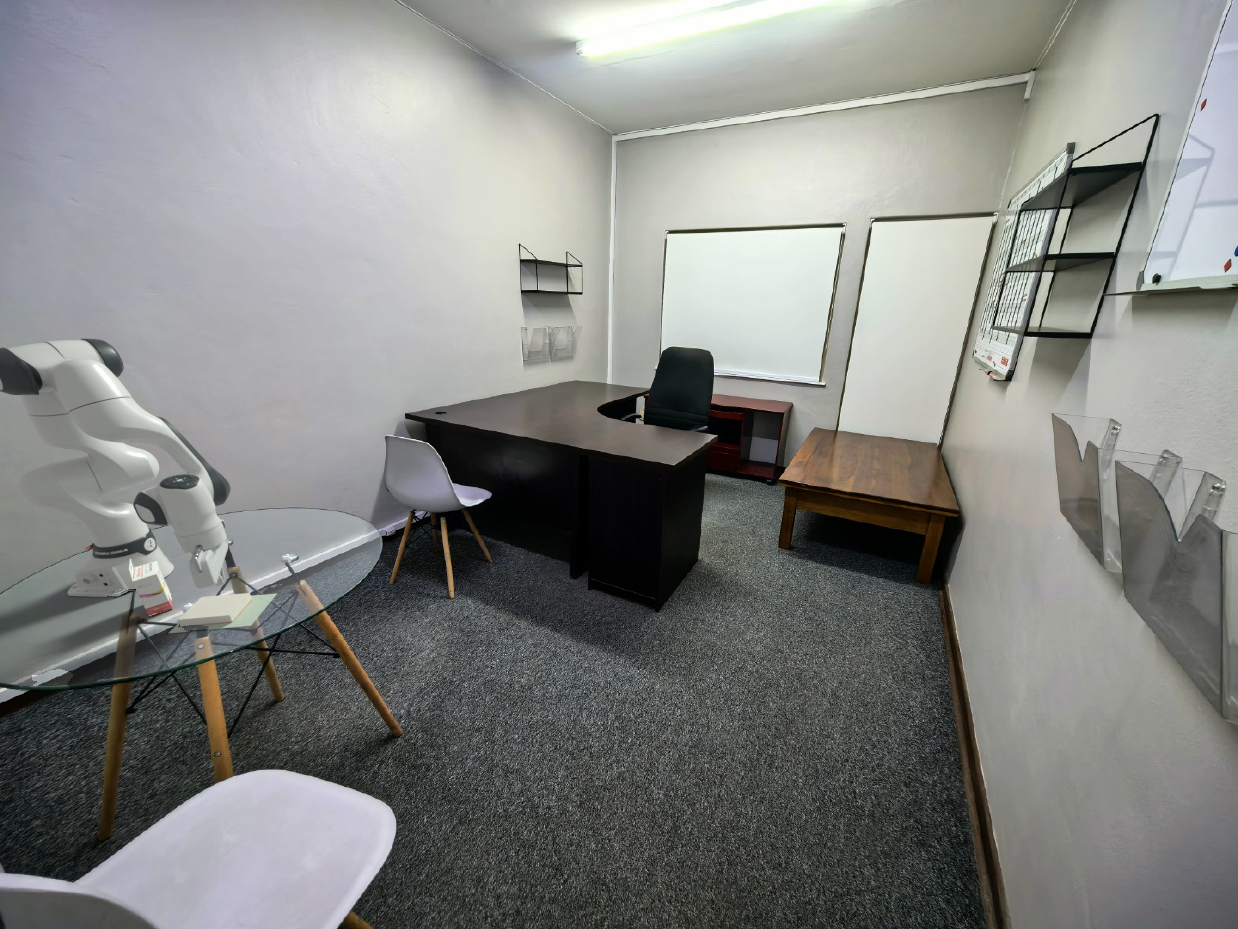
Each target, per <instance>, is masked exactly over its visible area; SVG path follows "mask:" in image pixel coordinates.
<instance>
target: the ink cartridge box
mask: <svg viewBox="0 0 1238 929" xmlns="http://www.w3.org/2000/svg"><path fill="white" fill-rule="evenodd" d="M129 574H130V577H131V580H132V583H133V585H134V587H135V589H136V590H135V591H136V593H137V595H138V597H139V599H140V601H141V603H142V606H143V607H144V609H145V611H146V613H147V615H148V616H149V615H152V614H154V613H160V612H163V613H165V611H166V612H168V611H167V610H169V611H171V610H170V609H172V610H173V598H172V597H171V595H172V594H171V592H170V588H169V586H168V584H167V582H166V580H165V578H164V577H163V575H162V573H161V570H160V568H159V566H158V563H157V561H155V562H151V563H148V564H144V565H141V566H138V567H134V568H133V564H132V561H131V559H130V561H129ZM160 614H161V613H160Z"/></svg>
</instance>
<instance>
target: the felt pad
mask: <svg viewBox="0 0 1238 929" xmlns="http://www.w3.org/2000/svg"><path fill="white" fill-rule="evenodd" d="M277 594H278V593H266V594H255V595H254V594H253V595H251V598H252V601H251V602H250V603H249V604H248V605H247V607H246V608H245V609H244V610H243V611H242V612H241V613H240V614H239V616H238V617H237V618H236V619H235V620H234V621H233V622H231V623H220V624H209V625H204V626H209V627H208V628H209V629H208V628H207V629H208V630H207V631H210V630H219V629H220V630H221V629H231V628H232V629H233V628H241V627H242V628H243V627H251V626H252V625H253V624H254V623H255V621H257V619H258V618H259V616H260V615H261V614H262V613H263V612H264V610H265V609H267V607H268V606H269V604H270V603H271V602H272V601H273V600H274V598H275V597H276V596H277ZM178 626H179V622H178V623H177V624H176V625H175V626H174V627H173V628H172V629H171V630H170V631H169V632H168V634H175V633H187V632H188V631H186V630H184V628H182V627H178ZM202 626H203V625H202ZM188 633H189V632H188Z"/></svg>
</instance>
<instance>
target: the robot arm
mask: <svg viewBox="0 0 1238 929" xmlns="http://www.w3.org/2000/svg"><path fill="white" fill-rule="evenodd" d="M124 369H125V367H124V363H123V359H122V357H121V356H120V354H119V352H118V351H117V349H116V348H115V347H114V346H113V345H111V344H110V343H109V342H106V341H105V340H103V339H98V338H81V339H63V340H61V339H60V340H49V341H45V340H44V341H42V342H38V343H30V344H29V343H28V344H23V345H18V346H12V347H0V392H1V393H4V394H7V395H11V396H20V398H21V401H22V402H21V403H23V406H24V409H25V411H26V413H27V415H28V417H29V419H30V421H31V423H32V424H33V426H34V429H35V430H36V432H37V434H38V436H39V439H41V441H42V442H44V443H45V444H46V445H49V446H52V447H55V448H59V449H66V450H75V451H81V452H84V453H86V454H87V455H85V456H83V457H77V458H73V459H68V460H62V461H57V462H52V463H47V464H44V465H41V466H39V467H34V468H33V469H30V470H27V471H24V472H22V473H21V474H20V476H19V477H18V479H17V482H16V489H17V492H18V494H19V496H20V497H21V498H22V499H24V501H26V502H28V503H29V504H30V505H31V504H32V505H34V506H37V507H41V508H49V509H53V510H58V511H60V512H64V513H65V514H68V515H69V516H72V517H73V518H75V519H76V520H77V521H78V522H80V523H81V525H82V526H83V527H84V528H85V530H86V532H87V533H88V535H89V536H90V538H91V541H92V543H91V544H90V545H88V546H87V547H85V548H84V550H86V551H85V552H86V553H88V552H89V551H92V554H91V556H89V557H88V558H87V560H85V561H84V562H83V563H82V564H81V565H80V566H79V567H78V568H76V570H75V572H74V578H75V582H76V583H74V584H73V585H71V587H70V588H69V589H68V590H67V596H68V597H93V598H108V597H107V596H112V595H117V594H120V593H121V592H123V589H124V591H126V590H128V589H135V587H134V585H133V583H132V580H131V577H130V574H129V561H130V559H131V561H132V564H133V568H134V567H138V566H141V565H144V564H148V563H151V562H155V561H157V563H158V566H159V568H160V570H161V573H162V575H163V577H164V579H165V578H166V577H168V576H169V575H170V574H171V573H172V572H173V571H174V569H175V565H174V564H173V563H172V562H171V561H170V560H169V558H168V557H167V556H166V555H165V554H164V552H163V551H162V549H161V547H159V545H158V544H157V540H156V539H157V538H156V537H155V534H154V532H153V530H152V529H151V528H150V527H149V526H148V524H149V525H154V526H161V527H166V526H170V527H171V526H172V528H173V531H174V532H173V534H174V536H175V539H176V541H177V543H178V545H179V548H180V550H181V551H182V552H185V553H190V554H189V555H191V557H190V559H189V562H188V563H189V564H188V566H189V571H190V574H191V576H192V580H193V582H194V585H195V587H196V588H197V589H199V590H202V589H206V588H210V587H214V586H215V587H219V586H222V585H223V584H224V582H225V579H226V575H225V572H224V562H225V559H226V555H227V552H228V549H229V541H228V538H227V536H228V535H227V533H226V523H225V520H224V519H221V518H220V517H219V516H218V515H217V512H216V507H218V506H222V505H223V504H225V503H226V501H227V500H228V498H229V496H230V493H231V488H232V487H231V485H230V482H228V480H227V479H226V477H225V476H224V475H223V474H221V473H220V472H219V471H218V470H217V469H215V468H214V467H213V466H212V465H211V464H209V462H207V460H206V459H205V458H204V457H203V456H202V454H201V453H200V452H198V450H196V448H195V447H194V446H193V445H192V444H191V443H190V442H189V441H188V439H187V438H186V437H185V436H184V435H183V434H182V433H181V432H180V430H178V429H177V428H176V427H175V426H174V424H172V423H171V422H169V421H168V420H167V419H166V418H164V417H161V416H158V415H157V416H156V415H154V414H151V413H150V412H148V411H146V409H144V408H143V407H141V406H140V405H139V403H138V402H136V401H135V399H134V398H133V396H132V395H131V393H130V392H129V391H128V389H127V387H125V385H124V384H123V383H122V382H121V380H120V379H119V378H118V377H120V376H121V375H122V373H123V372H124ZM126 443H127V444H126ZM128 443H129V444H131V443H133V444H146V445H147V444H148V445H152V446H156V447H158V448H161V449H162V450H163V451H165V452H166V453H167V454H168V455H169V456H170V458H172V459H173V460H174V461H175V462H176V463H177V465H179V467H180V468H181V469H182V470H183V472H185V473H186V474H185V473H184V474H176V475H171V476H168V477H166V478H164V479H161V481H160V482H158V484H157V485H154V486H151V487H148V488H145V489H143V490H141V491H139V492H138V493H137V495H136V496H135V498H134V501H133V503H129V502H124V501H108V500H104V499H101V498H100V497H102V496H104V495H108V494H111V493H116V492H120V491H124V490H128V489H133V488H136V487H139V486H141V485H144V484H147V483H149V482H151V481H153V480H155V479H156V478H158V474H159V472H160V464H159V461H158V459H157V458H156V457H155V456H154V455H153V454H152V453H151V452H149V451H147V450H145V449H143V448H140V447H139V448H138V447H135V446H131V445H128ZM119 589H121V590H119ZM115 590H118V591H116V592H115ZM114 592H115V593H114Z"/></svg>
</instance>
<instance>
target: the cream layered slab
mask: <svg viewBox="0 0 1238 929" xmlns="http://www.w3.org/2000/svg"><path fill="white" fill-rule="evenodd" d="M251 596H252V595H251V592H246V593H233V594H223V595H212V596H211V595H210V596H201V597H200V598H198V600H196V602H194V603H193V605H191V606H190V607H189V608H188V609H187V610H186V611H184V613H183V614H182V615H181V616H180V617H179V618H177V622H178V623H179V624H180V626H181V627H183V626H189V625H209V624H220V623H231V622H233V621H234V620H235V619H236V618H237V617H238V616H239V614H240V613H241V612H242V611H243V610H244V609H245V608H246V607H247V605H248V604H249V603H250V602H251V601H252V598H251Z"/></svg>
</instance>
